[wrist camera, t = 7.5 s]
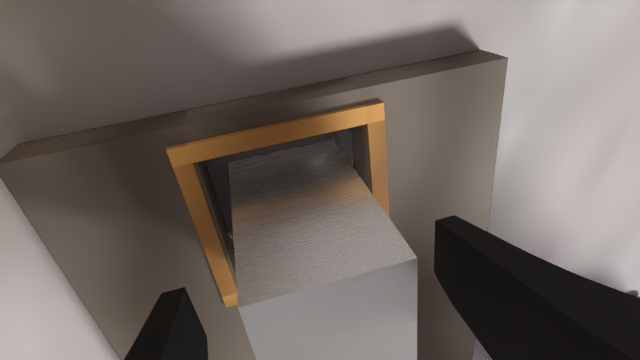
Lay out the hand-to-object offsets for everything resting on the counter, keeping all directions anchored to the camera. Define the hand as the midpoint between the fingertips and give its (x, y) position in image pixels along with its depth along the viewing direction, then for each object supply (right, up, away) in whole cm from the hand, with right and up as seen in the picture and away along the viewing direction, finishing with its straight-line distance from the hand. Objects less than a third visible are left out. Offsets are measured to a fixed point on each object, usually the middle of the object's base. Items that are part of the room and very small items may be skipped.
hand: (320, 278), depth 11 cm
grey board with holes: (-1, -2, +6) cm, 7 cm away
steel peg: (-1, +2, +4) cm, 5 cm away
